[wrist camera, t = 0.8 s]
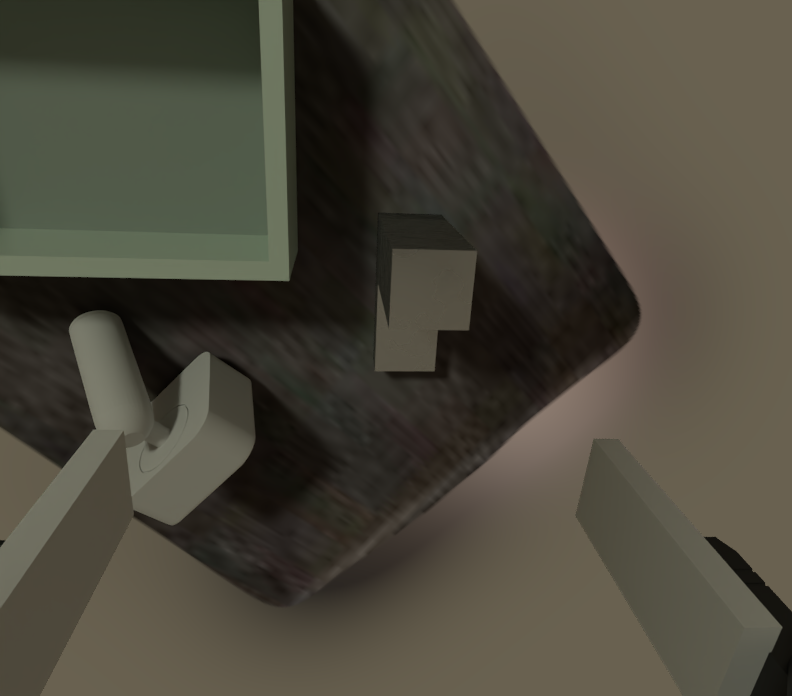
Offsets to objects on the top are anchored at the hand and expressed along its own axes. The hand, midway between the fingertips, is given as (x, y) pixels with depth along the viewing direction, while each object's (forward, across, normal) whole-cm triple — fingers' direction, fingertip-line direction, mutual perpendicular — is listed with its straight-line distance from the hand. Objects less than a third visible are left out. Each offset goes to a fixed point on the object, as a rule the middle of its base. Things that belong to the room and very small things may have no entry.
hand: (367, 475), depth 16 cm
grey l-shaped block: (+22, +4, -1) cm, 23 cm away
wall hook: (+23, -12, -7) cm, 27 cm away
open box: (+22, -15, +9) cm, 28 cm away
